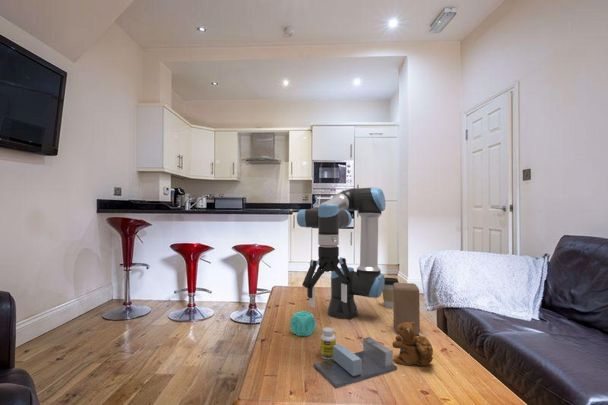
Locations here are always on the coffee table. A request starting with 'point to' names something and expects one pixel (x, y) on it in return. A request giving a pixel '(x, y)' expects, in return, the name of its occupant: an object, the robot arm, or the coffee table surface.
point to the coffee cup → (388, 291)
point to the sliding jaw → (347, 359)
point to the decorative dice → (302, 323)
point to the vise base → (372, 364)
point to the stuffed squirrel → (412, 346)
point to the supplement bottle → (327, 343)
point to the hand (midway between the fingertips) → (328, 304)
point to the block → (406, 305)
